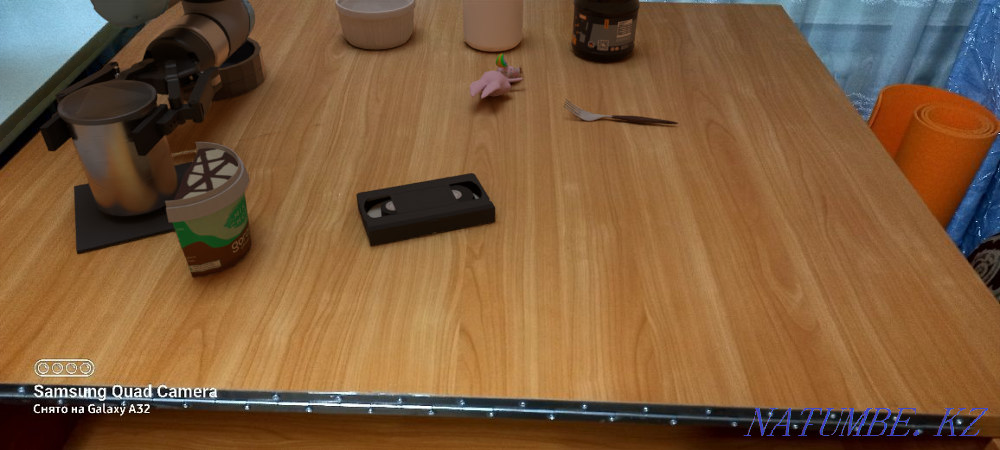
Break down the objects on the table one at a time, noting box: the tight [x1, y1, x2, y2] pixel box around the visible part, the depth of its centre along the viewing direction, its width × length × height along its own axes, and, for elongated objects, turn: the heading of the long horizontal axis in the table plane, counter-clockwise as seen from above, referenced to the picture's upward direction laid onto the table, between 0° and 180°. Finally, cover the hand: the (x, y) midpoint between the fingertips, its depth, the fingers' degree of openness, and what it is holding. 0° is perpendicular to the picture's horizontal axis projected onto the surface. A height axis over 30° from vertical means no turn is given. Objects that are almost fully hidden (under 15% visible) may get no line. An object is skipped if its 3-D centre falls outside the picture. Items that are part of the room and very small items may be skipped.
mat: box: [73, 161, 193, 255], centre depth 86 cm, size 14×14×1 cm
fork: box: [563, 98, 679, 125], centre depth 103 cm, size 3×16×2 cm, turn 78°
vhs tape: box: [355, 172, 496, 247], centre depth 84 cm, size 14×8×2 cm, turn 109°
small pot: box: [56, 80, 180, 216], centre depth 82 cm, size 10×10×12 cm
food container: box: [165, 141, 253, 278], centre depth 77 cm, size 12×6×10 cm, turn 5°
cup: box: [462, 0, 524, 53], centre depth 124 cm, size 10×10×10 cm
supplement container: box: [570, 0, 641, 63], centre depth 120 cm, size 10×10×12 cm
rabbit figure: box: [469, 53, 524, 99], centre depth 109 cm, size 6×6×15 cm
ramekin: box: [334, 0, 417, 51], centre depth 126 cm, size 13×13×7 cm
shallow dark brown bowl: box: [184, 36, 267, 102], centre depth 111 cm, size 14×14×5 cm
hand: (92, 142), depth 76 cm, fingers closed on small pot, 9 cm apart
